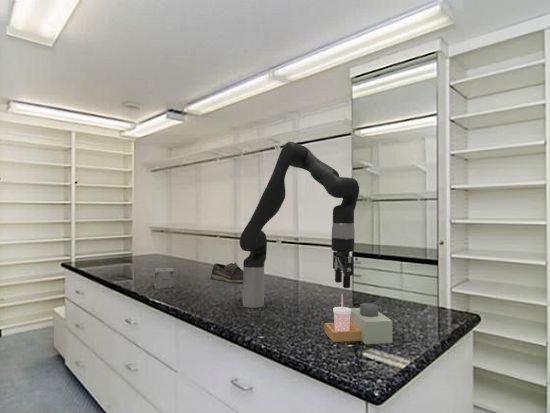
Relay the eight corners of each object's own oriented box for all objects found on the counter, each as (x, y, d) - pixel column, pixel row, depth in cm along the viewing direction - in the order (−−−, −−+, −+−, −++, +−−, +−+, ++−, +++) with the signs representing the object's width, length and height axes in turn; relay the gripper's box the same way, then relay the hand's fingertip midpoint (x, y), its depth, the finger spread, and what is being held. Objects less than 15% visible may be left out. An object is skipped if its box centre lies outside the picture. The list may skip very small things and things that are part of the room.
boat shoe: (246, 285, 202) (246, 266, 202) (205, 280, 215) (205, 262, 215) (256, 281, 211) (256, 263, 212) (216, 277, 225) (216, 260, 225)
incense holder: (154, 289, 188) (154, 270, 188) (154, 286, 196) (154, 267, 196) (173, 288, 191) (174, 269, 191) (173, 285, 199) (173, 266, 199)
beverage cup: (334, 332, 124) (334, 291, 124) (352, 333, 122) (352, 292, 122) (331, 338, 118) (331, 295, 118) (350, 340, 116) (350, 296, 116)
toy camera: (335, 345, 111) (336, 313, 112) (322, 328, 127) (322, 300, 127) (392, 343, 114) (392, 311, 114) (371, 326, 130) (372, 299, 130)
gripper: (326, 235, 127) (325, 281, 127) (338, 238, 113) (338, 290, 113) (346, 235, 128) (346, 280, 128) (361, 238, 114) (361, 289, 114)
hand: (342, 285), depth 120 cm, fingers open, 8 cm apart
